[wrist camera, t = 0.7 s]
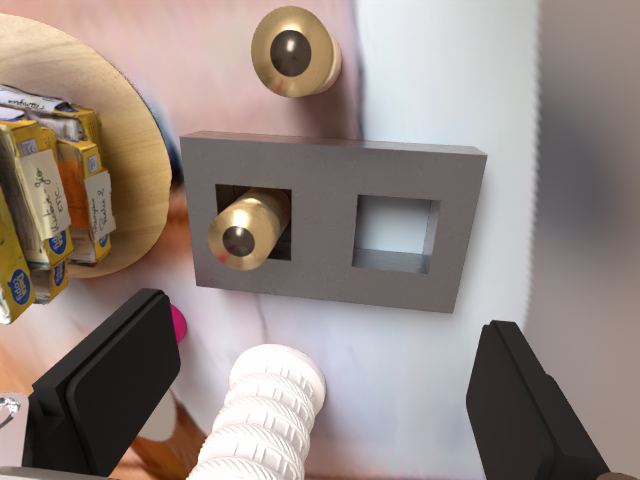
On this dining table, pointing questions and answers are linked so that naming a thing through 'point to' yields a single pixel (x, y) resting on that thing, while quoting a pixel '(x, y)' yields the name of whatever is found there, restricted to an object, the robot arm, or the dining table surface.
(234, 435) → the decorative container
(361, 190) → the jig
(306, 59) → the bushing
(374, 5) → the dining table surface
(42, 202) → the stacked packages on plate
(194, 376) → the dining table surface
